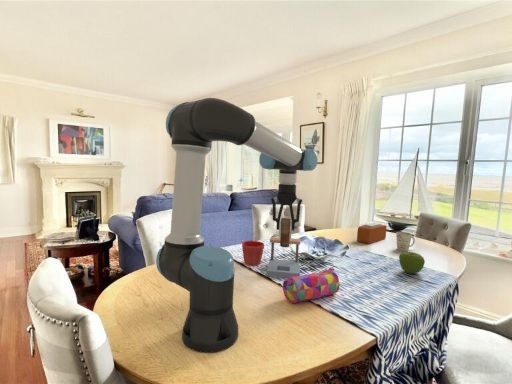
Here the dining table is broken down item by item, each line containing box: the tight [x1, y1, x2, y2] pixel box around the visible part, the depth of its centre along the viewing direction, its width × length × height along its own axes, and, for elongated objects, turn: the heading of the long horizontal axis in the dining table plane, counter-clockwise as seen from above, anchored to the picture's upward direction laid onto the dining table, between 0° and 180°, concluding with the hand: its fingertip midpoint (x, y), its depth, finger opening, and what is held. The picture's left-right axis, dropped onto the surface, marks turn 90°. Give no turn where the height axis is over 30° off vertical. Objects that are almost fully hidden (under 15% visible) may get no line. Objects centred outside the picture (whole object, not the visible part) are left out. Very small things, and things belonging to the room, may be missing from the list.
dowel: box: [279, 217, 292, 248], centre depth 122 cm, size 4×4×12 cm
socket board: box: [265, 236, 301, 279], centre depth 126 cm, size 16×14×13 cm
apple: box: [398, 251, 426, 275], centre depth 130 cm, size 11×10×10 cm
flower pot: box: [241, 240, 265, 267], centre depth 136 cm, size 11×11×10 cm
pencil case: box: [282, 267, 340, 304], centre depth 102 cm, size 22×9×9 cm, turn 123°
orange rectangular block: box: [356, 222, 387, 245], centre depth 189 cm, size 24×8×11 cm, turn 131°
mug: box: [395, 231, 416, 252], centre depth 170 cm, size 8×13×10 cm, turn 107°
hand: (285, 237), depth 122 cm, fingers closed on dowel, 4 cm apart
